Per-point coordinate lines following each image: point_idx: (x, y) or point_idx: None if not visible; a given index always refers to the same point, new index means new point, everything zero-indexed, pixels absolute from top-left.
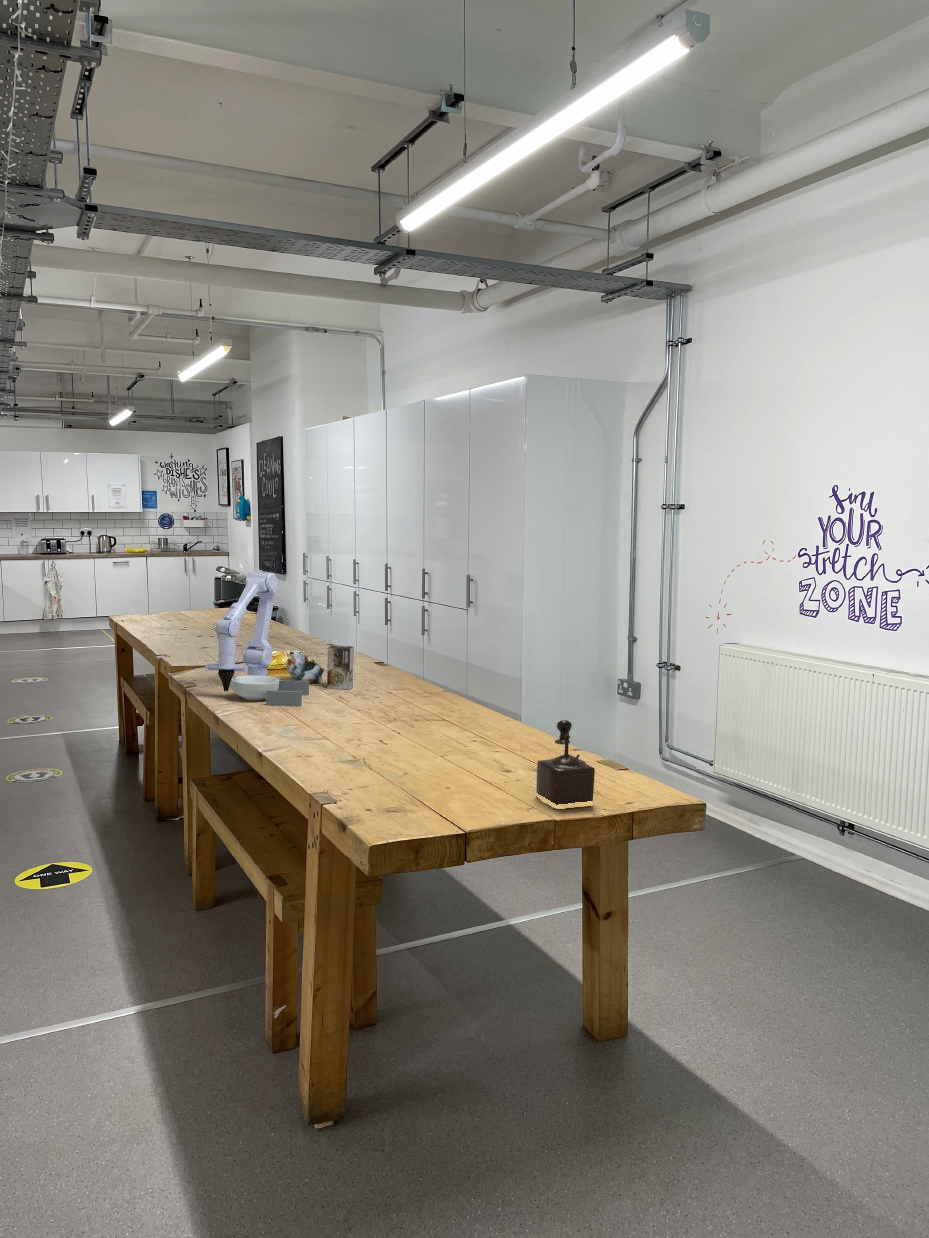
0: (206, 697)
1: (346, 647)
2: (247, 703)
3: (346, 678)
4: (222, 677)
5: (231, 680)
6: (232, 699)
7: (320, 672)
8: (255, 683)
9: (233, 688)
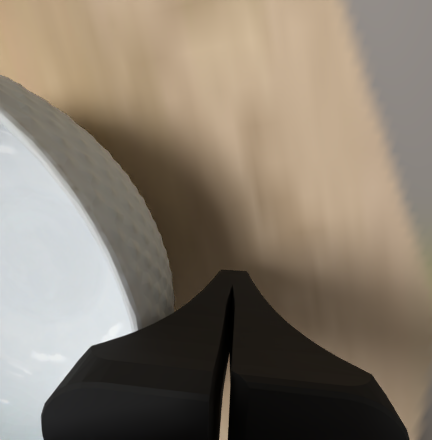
0: (372, 257)
1: None
2: (43, 81)
3: None
4: (272, 339)
5: (127, 268)
6: (180, 210)
7: None
8: (39, 432)
9: (123, 175)
